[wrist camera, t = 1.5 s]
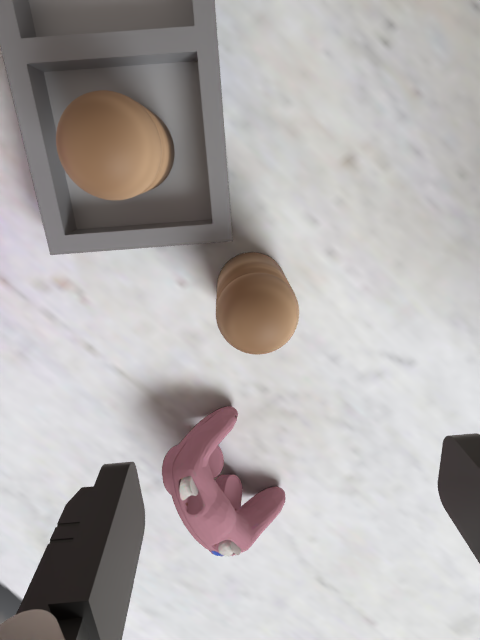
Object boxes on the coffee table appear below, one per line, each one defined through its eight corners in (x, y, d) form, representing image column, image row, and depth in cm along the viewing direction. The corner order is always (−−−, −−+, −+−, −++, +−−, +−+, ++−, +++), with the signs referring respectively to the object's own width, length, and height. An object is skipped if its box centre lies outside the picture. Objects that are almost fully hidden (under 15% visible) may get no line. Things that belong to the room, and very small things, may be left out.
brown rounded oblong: (284, 249, 26) (305, 281, 19) (286, 315, 27) (306, 365, 21) (214, 254, 26) (210, 288, 19) (220, 320, 27) (219, 372, 21)
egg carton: (199, -197, 18) (195, -257, 16) (231, 232, 25) (232, 240, 23) (-27, -183, 18) (-69, -240, 16) (68, 245, 25) (50, 255, 23)
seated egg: (169, 102, 22) (144, 77, 15) (179, 189, 23) (161, 201, 17) (86, 108, 22) (24, 86, 15) (102, 195, 23) (53, 208, 17)
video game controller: (188, 405, 31) (136, 479, 26) (237, 398, 29) (191, 479, 24) (244, 494, 35) (209, 576, 29) (292, 494, 32) (263, 584, 27)
